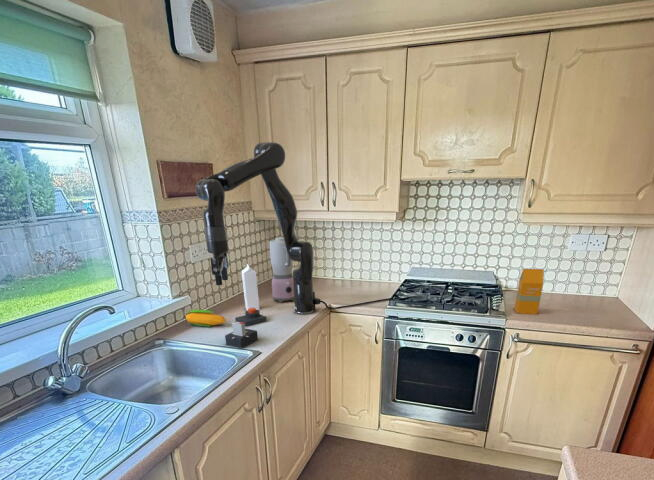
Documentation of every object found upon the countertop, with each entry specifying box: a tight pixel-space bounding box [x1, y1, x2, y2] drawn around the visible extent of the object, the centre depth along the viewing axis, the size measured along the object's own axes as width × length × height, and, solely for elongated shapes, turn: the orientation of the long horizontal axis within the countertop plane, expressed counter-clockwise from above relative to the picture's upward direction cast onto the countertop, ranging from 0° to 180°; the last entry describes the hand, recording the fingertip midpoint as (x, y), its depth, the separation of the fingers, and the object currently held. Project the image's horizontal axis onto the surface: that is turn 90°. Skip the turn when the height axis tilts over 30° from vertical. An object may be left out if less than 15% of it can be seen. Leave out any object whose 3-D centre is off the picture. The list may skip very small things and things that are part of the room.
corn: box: [185, 308, 227, 328], centre depth 181 cm, size 7×8×20 cm
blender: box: [269, 236, 294, 304], centre depth 211 cm, size 16×12×32 cm
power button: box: [248, 308, 256, 313], centre depth 187 cm, size 4×4×2 cm
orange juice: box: [513, 268, 544, 315], centre depth 190 cm, size 8×9×20 cm
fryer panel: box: [224, 328, 259, 349], centre depth 162 cm, size 11×9×4 cm
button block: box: [234, 310, 267, 328], centre depth 186 cm, size 11×9×4 cm
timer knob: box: [232, 321, 246, 336], centre depth 159 cm, size 5×2×5 cm, turn 61°
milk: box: [240, 263, 261, 311], centre depth 200 cm, size 6×6×22 cm
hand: (222, 282), depth 157 cm, fingers open, 8 cm apart
